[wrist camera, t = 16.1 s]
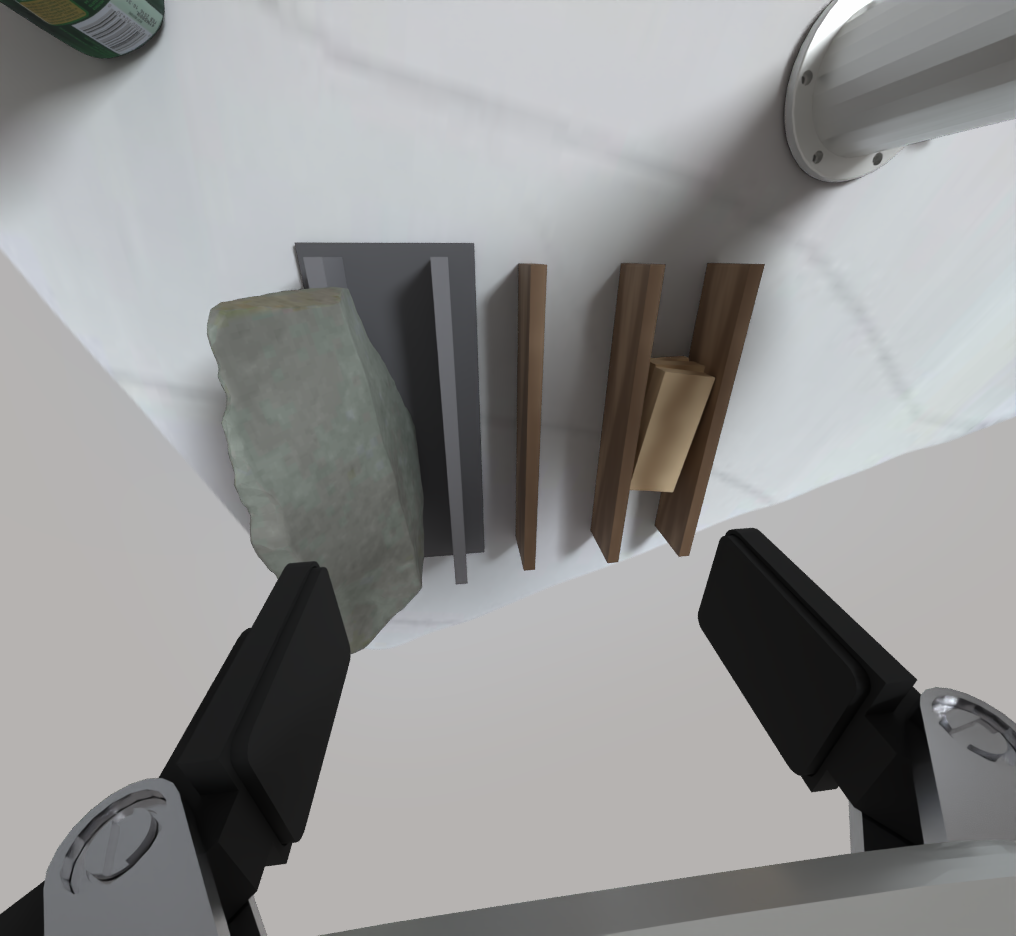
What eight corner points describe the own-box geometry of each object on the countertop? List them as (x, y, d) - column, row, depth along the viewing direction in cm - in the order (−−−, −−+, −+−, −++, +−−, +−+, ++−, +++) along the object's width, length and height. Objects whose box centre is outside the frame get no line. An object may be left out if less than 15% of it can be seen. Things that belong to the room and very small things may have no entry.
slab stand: (473, 243, 34) (478, 240, 28) (484, 548, 49) (488, 588, 43) (297, 242, 32) (264, 239, 27) (363, 558, 47) (351, 601, 41)
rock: (461, 539, 45) (370, 717, 28) (409, 535, 47) (292, 702, 30) (420, 275, 33) (214, 306, 16) (352, 280, 34) (94, 313, 17)
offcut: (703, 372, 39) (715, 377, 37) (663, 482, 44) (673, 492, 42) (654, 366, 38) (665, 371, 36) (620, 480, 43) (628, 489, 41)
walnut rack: (719, 263, 37) (764, 264, 32) (663, 524, 51) (688, 555, 45) (518, 263, 35) (530, 264, 30) (515, 536, 48) (523, 570, 43)
